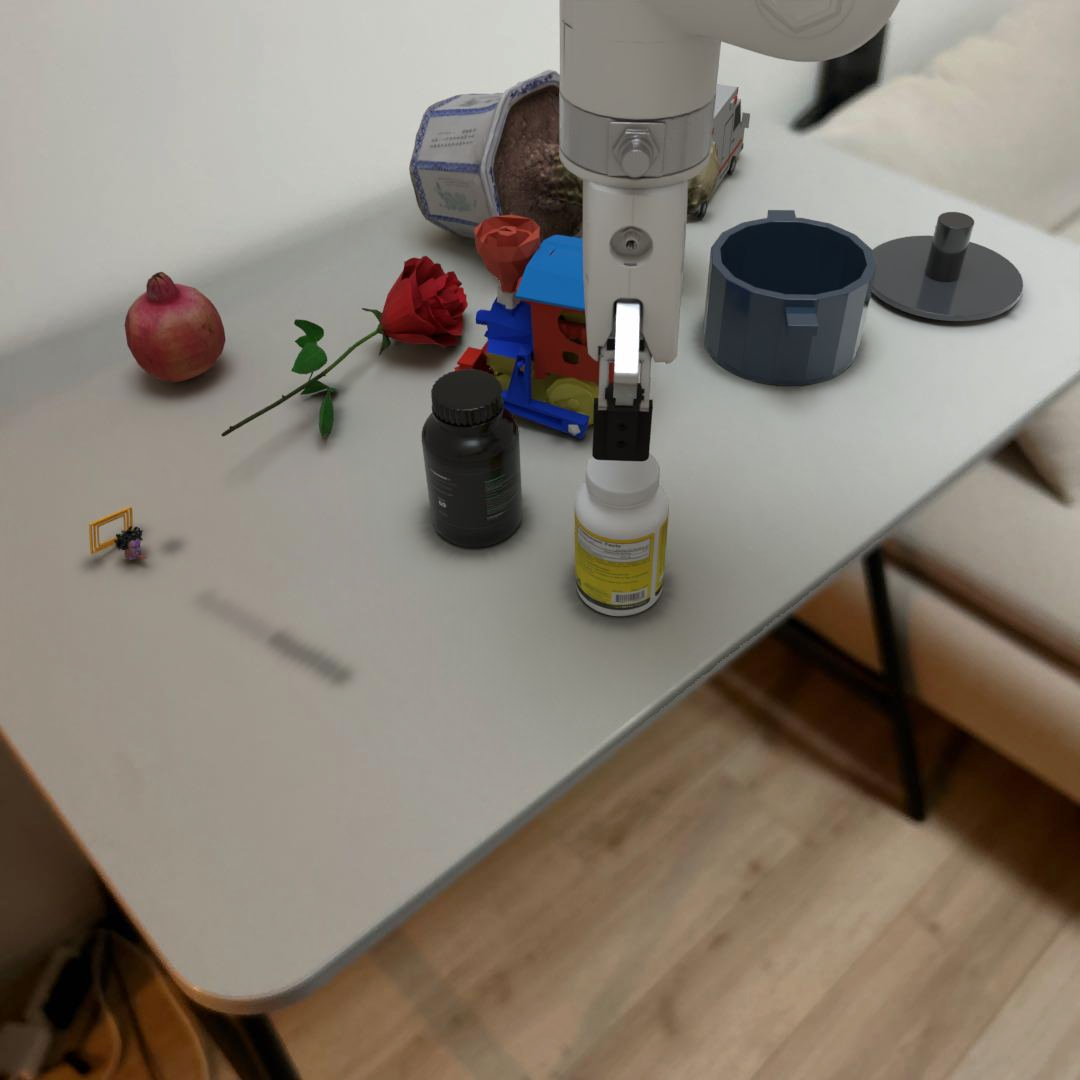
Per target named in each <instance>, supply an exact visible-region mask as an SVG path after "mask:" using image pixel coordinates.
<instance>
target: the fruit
mask: <svg viewBox="0 0 1080 1080" xmlns="http://www.w3.org/2000/svg"><path fill="white" fill-rule="evenodd" d="M124 331H125V332H124V333H125V336H126V344H127V347H128V349H129V351H130V354H132V357H133V359H135V361H136V363H137V364H138V366H139V367H140V368H141V369H143V370H144V371H145V372H146V373H147V374H149V375H150V376H153V377H155V378H157V379H159V380H162V381H165V382H167V383H168V382H169V383H175V382H176V383H177V382H183V381H187V380H190V379H193V378H195V377H197V376H200V375H202V374H204V373H205V372H207V371H208V370H209V369H210V368H211V367H213V365H215V364H216V363H217V361H218V360H219V358H220V357H221V356H222V355H223V351H224V348H225V344H226V341H227V339H226V332H225V327H224V323H223V321H222V317H221V315H220V313H219V311H218V309H217V308H216V306H215V305H214V304H213V302H212V301H211V300H210V299H209V298H208V297H207V296H206V295H205V294H203V292H201V291H200V290H198V289H197V288H195V287H192V286H188V285H185V284H181V283H175V282H174V281H173V279H172V277H170V276H169V275H168V274H166V273H165V272H164V271H159V272H155V273H154V274H152V276H151V277H149V278H148V279H147V282H146V291H145V292H143V293H142V294H140V295H139V296H138V297H137V298H136V299H135V300H134V301H133V302H132V304H131V305H130V306H129V308H128V310H127V313H126V316H125V320H124Z"/></svg>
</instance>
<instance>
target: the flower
mask: <svg viewBox="0 0 1080 1080" xmlns="http://www.w3.org/2000/svg"><path fill="white" fill-rule="evenodd" d="M462 285H463V283H462V281H460V280H459V277H458V276H457V274H456V272H455V271H454V270H453V271H447V272H445V271H444V269H443V267H442V264H441V263H439V262H436V263H435V262H434V261H433V260H432V258H430V257H429V256H428V255H423V256H421V257H420V258H418V257H411V258H409V259H407V260H404V261H403V269H402V272H401V273H400V274H399V275H398V277H397V279H396V280H395V282H394V284H393V285H392V286H391V288H390V290H389V291H388V293H387V295H386V299H385V302H384V305H383V309H382V312H381V310H380V311H379V310H378V309H372V308H366V307H362V308H361V310H363V311H365V312H368V313H369V312H370V313H372V314H373V315H374V316H375V318H376V319H377V321H378V325H377V328H376V330H374V331H372V332H370V333H369V334H367V335H366V336H364V337H362V338H361V339H359V340H357V341H356V342H355V343H354V344H352V345H351V346H350V347H348V349H347V350H346V351H345V352H343V353H342V354H341V355H340V356H339V357H338V358H337V359H336V360H334V362H332V363H331V364H330V365H329V366H327V367H326V368H325V369H324V370H323V371H321V372H320V373H318V374H317V375H315V376H314V377H313V374H314V372H317V371H319V370H320V369H321V368H323V367H324V366H326V364H327V363H328V355H327V353H326V351H325V350H324V349H323V348H322V347H321V346H319V345H318V342H320V341H321V340H322V339H323V338H324V336H325V330H324V329H323V327H322V326H320V325H319V324H317V323H315V322H312V321H310V320H307V319H299V318H298V319H297V318H296V319H295V320H294V321H293V324H294V325H295V326H296V327H297V328H298V329H300V330H302V331H303V333H304V334H305V335H301V336H299V337H298V338H297V339H296V340H294V342H295V343H296V345H297V346H298V347H299V348H301V350H300V351H299V352H298V354H297V356H296V358H295V360H294V363H293V366H292V368H291V369H290V372H293V373H295V374H299V375H308V374H310V376H309V378H308V380H307V381H306V382H305V383H303V384H301V385H299V386H298V387H297V388H295V389H294V390H292V391H291V392H289V393H287V394H286V395H284V394H282V395H281V398H279V399H278V400H276V401H274V402H272V403H271V404H269V405H268V406H266V407H264V408H262V409H261V410H259V411H257V412H255V413H253V414H251V415H250V416H247V417H246V418H244V419H243V420H241V421H239V422H237V423H236V424H234V425H229V428H228V429H226V430H224V432H222V433H221V434H220V435H221V437H226V436H227V435H229V434H231V433H232V432H235V431H236V430H237V429H240V428H241V427H243V426H245V425H246V424H248V423H250V422H252V421H253V420H255V419H257V418H258V417H261V415H264V414H265V413H267V412H269V411H271V410H272V409H275V408H276V407H279V406H280V405H282V404H283V403H285V402H286V401H287V400H289V399H290V398H292V397H294V396H295V395H297V394H298V393H299V395H300V396H302V395H310V394H314V393H315V394H316V393H317V392H320V391H323V390H327V392H326V395H325V397H324V399H323V401H322V403H321V406H320V409H319V415H318V416H319V417H318V428H319V429H318V430H319V432H320V435H321V437H322V438H324V437H327V435H328V434H329V433H330V431H331V430H332V428H333V425H334V417H335V412H334V405H333V400H332V397H331V393H334V391H338V390H339V388H337V387H331V386H329V385H327V384H325V383H323V382H322V381H320V379H322V378H323V377H327V374H329V373H330V372H331V371H332V370H333V369H334V368H336V366H338V365H339V364H340V363H341V362H342V361H344V360H345V359H346V358H347V357H348V356H349V355H350V354H351V353H352V352H353V351H354V350H355V349H357V348H358V347H359V346H360V345H362V344H364V343H365V342H367V341H368V340H370V339H372V338H373V337H374V336H376V335H378V334H379V335H382V340H381V345H380V349H379V353H378V356H379V357H380V356H381V355H382V354H383V352H385V351H387V350H388V349H389V348H390V347H391V345H392V341H391V339H392V340H395V341H398V342H403V343H406V344H413V345H428V344H429V345H430V344H435V345H437V346H440V347H441V348H443V349H445V347H446V346H448V347H456V346H457V345H458V343H459V338H458V337H457V336H463V328H464V313H465V311H466V309H467V308H468V301H467V297H468V296H467V294H466V293H465V289H464V288H463V286H462Z"/></svg>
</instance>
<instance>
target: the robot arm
mask: <svg viewBox="0 0 1080 1080" xmlns="http://www.w3.org/2000/svg"><path fill="white" fill-rule="evenodd" d="M558 1H559V3H558V4H559V7H558V9H559V13H558V14H559V75H560V89H559V144H560V146H559V157H560V160H561V162H562V164H563V165H564V166H565V168H566V169H568V170H569V171H570V172H571V173H573V174H574V175H576V176H578V177H580V178H582V179H583V279H584V300H585V316H586V332H587V345H588V354H589V355H590V356H591V357H592V358H593V359H594V360H596V361H597V362H598V358H599V359H600V368H599V395H598V398H594V411H593V424H592V445H591V446H592V447H591V448H592V449H591V450H592V451H591V457H592V456H593V458H595V459H596V460H611V461H641V462H642V461H646V460H647V459H648V458H649V453H650V450H651V448H650V447H651V436H652V423H653V422H652V421H653V408H654V400H653V399H650V396H651V395H650V393H651V373H652V372H651V370H652V359H653V361H654V363H665V364H666V365H669V364H671V363H673V361H675V360H676V358H677V357H678V349H679V333H680V332H679V331H680V317H681V315H680V314H681V303H682V289H683V277H684V265H685V262H684V261H685V253H686V252H685V250H686V240H687V239H686V237H687V224H688V223H687V221H688V214H687V199H688V180H689V179H691V178H693V177H695V176H696V175H698V174H699V173H700V172H702V171H703V170H704V168H705V167H706V166H707V165H708V162H709V159H710V150H711V140H712V130H713V121H714V111H715V101H716V87H717V84H718V77H719V76H718V75H719V67H720V56H721V47H722V43H725V44H727V45H731V46H734V47H737V48H740V49H744V50H747V51H751V52H752V53H753V52H754V53H757V54H760V55H762V56H765V57H766V56H767V57H771V58H775V59H778V60H784V61H792V62H799V63H816V62H826V61H828V60H833V59H836V58H840V57H843V56H845V55H848V54H850V53H852V52H854V51H855V50H857V49H860V48H861V47H862V46H864V45H865V44H866V43H867V42H869V41H870V40H871V39H873V38H874V37H875V36H876V35H877V34H878V33H879V32H880V31H881V30H882V29H883V28H884V27H885V25H887V22H888V21H889V20H890V18H892V16H893V14H894V12H895V10H896V8H897V7H898V5H899V3H900V1H901V0H558ZM609 363H614V382H609V385H608V380H609ZM639 364H640V367H639ZM639 368H640V371H639Z"/></svg>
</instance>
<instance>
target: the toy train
mask: <svg viewBox="0 0 1080 1080" xmlns="http://www.w3.org/2000/svg"><path fill="white" fill-rule="evenodd" d="M474 233H475V239H474V243H475V249H476V252H477V254H478V255H480V258H481V260H482V262H483V264H484V266H485V268H486V271H487V272H489V273H490V274H491V275H492V276H493V277H494V278H496V279H497V280H498V281H499V286H497V293H496V297H495V298H494V301H492V304H491V307H490V310H489V309H479V310H477V311H476V314H475V324H476V325H482V326H486V328H487V330H485V332H484V335H483V337H485V338H487V341H486V342H485V343H484V344H483V346H482V347H481V348H476V347H472V346H467V348H466V349H465V350H464V352H463V353H462V355H461V356H460V357H459V359H458V360H457V361H456V365H458V366H455V367H453V369H454V371H455V370H461V369H477V370H482V371H484V372H488V373H489V374H493V376H494V377H496V378H497V380H499V381H500V384H501V387H502V397H503V400H504V407H505V408H506V409H507V410H508V411H509V412H510V413H511V414H512V415H516V416H519V417H522V418H523V419H524V418H525V419H527V420H530V421H531V422H535V423H538V424H540V425H543V426H546V427H549V428H551V429H554V430H557V431H560V432H563V433H566V434H568V435H570V436H572V437H575V438H578V439H580V440H583V438H584V436H585V434H586V433H587V430H588V426H590V425H593V411H594V398H598V395H599V368H600V359H599V358H598V362H597V361H596V360H594V359H593V358H592V357H591V356H590V355H589V354H588V345H587V332H586V316H585V300H584V279H583V239H581V238H575V237H569V236H563V235H553V236H551V237H549V238H547V239H545V240H543V242H542V243H541V245H540V226H539V225H538V224H537V223H536V222H535V221H534V220H533V219H530V218H525V217H520V216H516V215H504V216H494V217H491V218H489V219H486V220H484V221H482V222H481V223H480V224H479V225H478V226H477V227H476V228H475V229H474ZM491 367H493V370H492V369H491ZM609 382H614V363H609V380H608V385H609Z"/></svg>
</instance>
